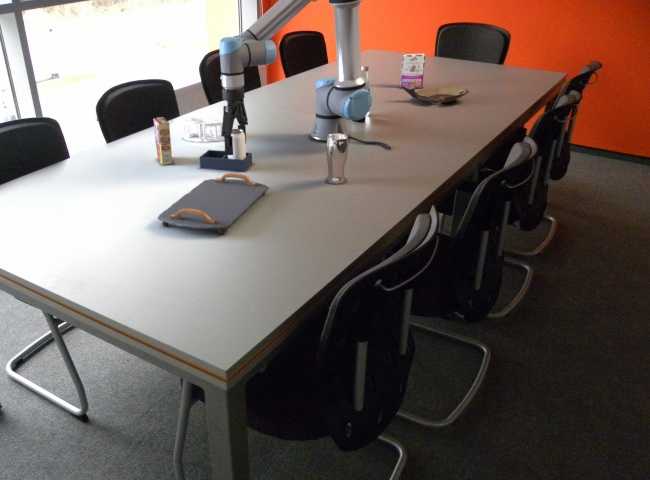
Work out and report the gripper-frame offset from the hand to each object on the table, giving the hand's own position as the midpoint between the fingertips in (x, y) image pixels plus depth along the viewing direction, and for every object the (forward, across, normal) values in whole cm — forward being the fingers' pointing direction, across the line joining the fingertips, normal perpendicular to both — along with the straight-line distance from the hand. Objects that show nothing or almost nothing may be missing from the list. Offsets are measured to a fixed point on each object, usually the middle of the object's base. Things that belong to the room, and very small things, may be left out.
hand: (236, 149), depth 216 cm
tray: (+6, 0, -4) cm, 8 cm away
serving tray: (+7, +39, +7) cm, 40 cm away
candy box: (+7, 0, -28) cm, 29 cm away
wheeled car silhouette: (+7, -31, -24) cm, 40 cm away
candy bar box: (+7, -140, +46) cm, 148 cm away
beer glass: (+7, +6, +37) cm, 38 cm away
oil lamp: (+7, -112, +60) cm, 127 cm away
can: (+6, 0, 0) cm, 6 cm away
